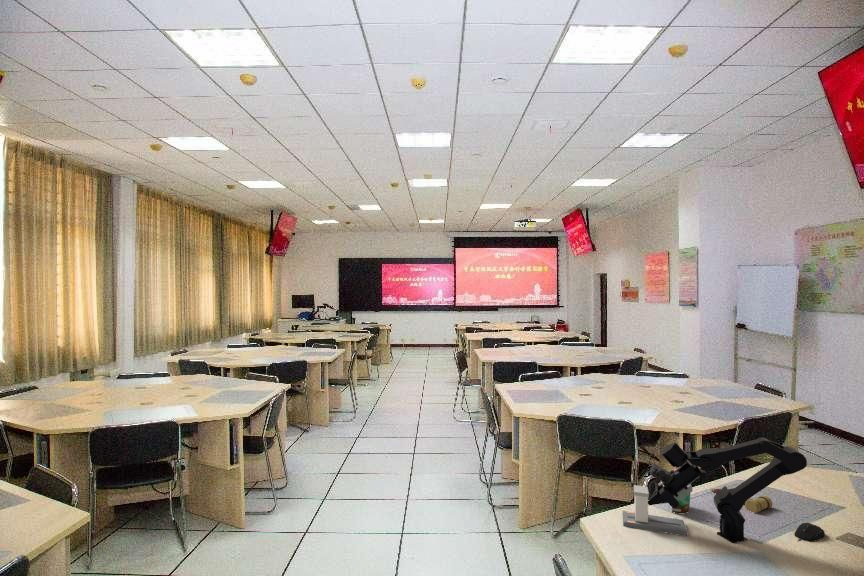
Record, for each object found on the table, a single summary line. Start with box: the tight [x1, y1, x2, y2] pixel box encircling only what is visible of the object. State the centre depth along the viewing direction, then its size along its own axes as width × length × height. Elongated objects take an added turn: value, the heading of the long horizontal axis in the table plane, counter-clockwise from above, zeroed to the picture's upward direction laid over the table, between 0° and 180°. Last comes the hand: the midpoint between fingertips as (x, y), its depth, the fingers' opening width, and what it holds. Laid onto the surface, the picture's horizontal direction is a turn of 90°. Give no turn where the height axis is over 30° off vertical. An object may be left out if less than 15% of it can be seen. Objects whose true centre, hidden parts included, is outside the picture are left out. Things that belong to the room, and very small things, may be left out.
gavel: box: [710, 488, 774, 514], centre depth 187 cm, size 21×5×10 cm
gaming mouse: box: [794, 522, 826, 543], centre depth 159 cm, size 6×15×4 cm, turn 119°
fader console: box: [622, 510, 688, 537], centre depth 167 cm, size 20×9×2 cm, turn 69°
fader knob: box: [633, 484, 650, 523], centre depth 168 cm, size 5×6×10 cm
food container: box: [671, 483, 693, 514], centre depth 179 cm, size 12×6×10 cm, turn 143°
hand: (648, 503), depth 167 cm, fingers closed, pressing on fader knob
